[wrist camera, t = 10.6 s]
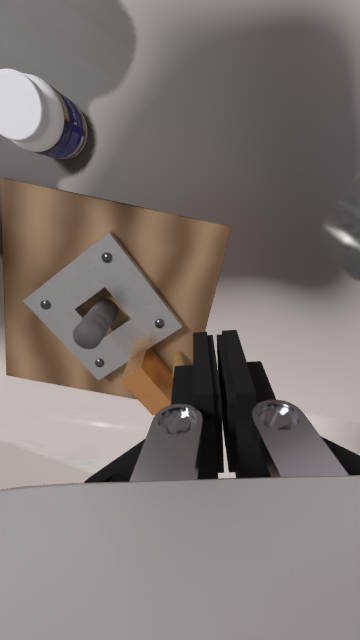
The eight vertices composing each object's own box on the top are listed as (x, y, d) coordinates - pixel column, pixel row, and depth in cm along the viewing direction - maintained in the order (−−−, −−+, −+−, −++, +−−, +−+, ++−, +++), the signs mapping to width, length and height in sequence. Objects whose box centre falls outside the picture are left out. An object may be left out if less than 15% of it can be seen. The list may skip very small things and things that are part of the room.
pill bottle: (99, 125, 32) (62, 100, 23) (70, 171, 34) (26, 165, 25) (52, 83, 31) (-6, 38, 22) (25, 133, 33) (-39, 111, 24)
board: (230, 226, 36) (241, 237, 28) (185, 402, 46) (183, 449, 38) (6, 178, 35) (-52, 175, 26) (11, 370, 45) (-30, 411, 37)
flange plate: (27, 297, 39) (0, 315, 33) (111, 231, 35) (96, 238, 30) (128, 404, 45) (118, 434, 39) (208, 356, 41) (210, 383, 36)
